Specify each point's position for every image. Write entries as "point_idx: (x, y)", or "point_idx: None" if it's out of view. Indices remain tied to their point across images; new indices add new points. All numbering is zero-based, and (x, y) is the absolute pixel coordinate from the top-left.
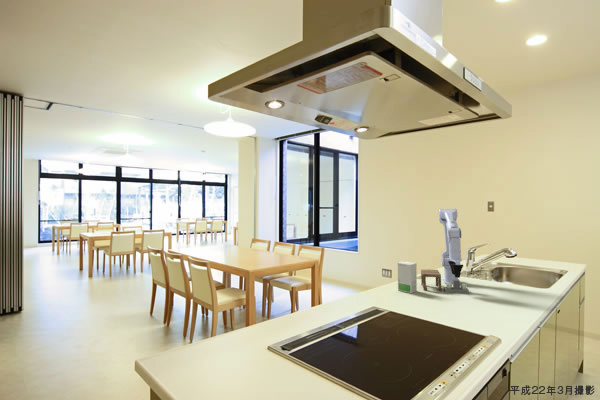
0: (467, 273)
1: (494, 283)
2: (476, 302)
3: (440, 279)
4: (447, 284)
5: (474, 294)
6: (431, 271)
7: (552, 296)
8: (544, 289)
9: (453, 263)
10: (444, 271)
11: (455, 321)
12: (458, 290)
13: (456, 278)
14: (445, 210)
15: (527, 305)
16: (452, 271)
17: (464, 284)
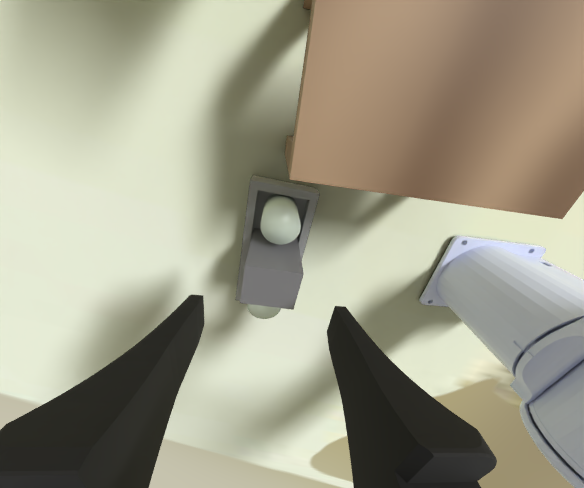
0: None
1: None
2: (68, 272)
3: (288, 162)
4: (268, 208)
5: (224, 304)
6: (519, 93)
7: (231, 454)
8: (302, 459)
9: (377, 451)
10: (568, 286)
11: None
12: (242, 252)
13: (454, 310)
14: None
15: None
16: (342, 329)
17: (252, 308)
